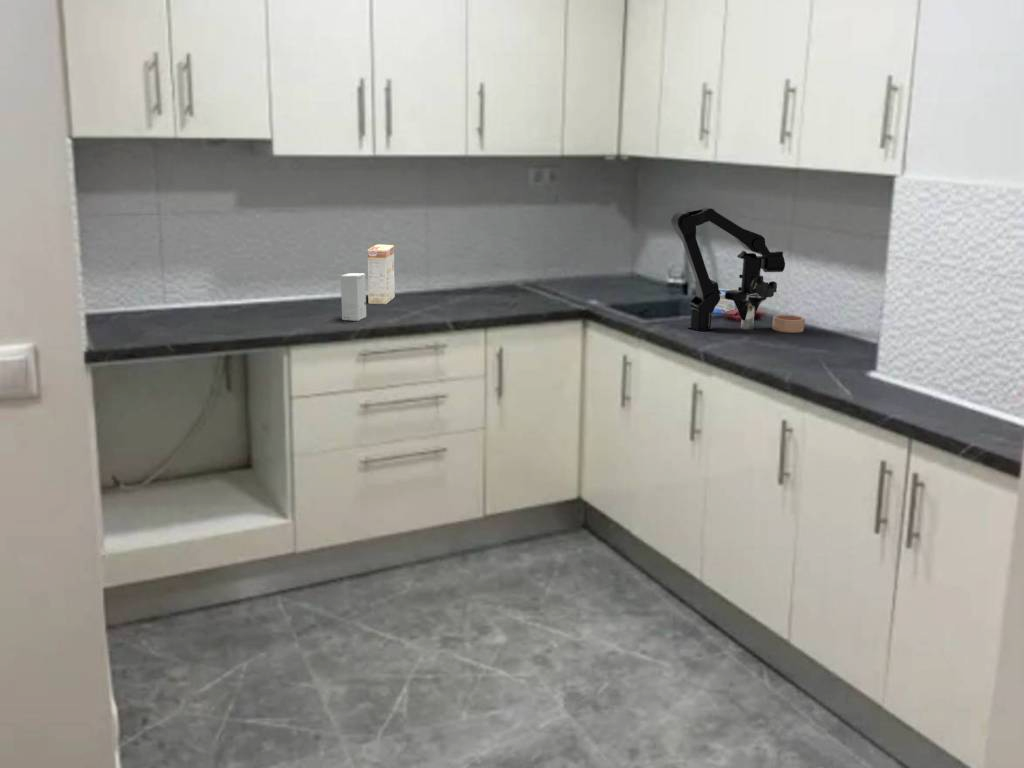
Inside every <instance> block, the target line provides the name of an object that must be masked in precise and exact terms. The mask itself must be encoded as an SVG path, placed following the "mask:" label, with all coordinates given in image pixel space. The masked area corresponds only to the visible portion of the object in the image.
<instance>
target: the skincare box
mask: <svg viewBox="0 0 1024 768" xmlns="http://www.w3.org/2000/svg"><path fill="white" fill-rule="evenodd" d="M366 291H367V290H366V273H362V272H361V273H360V272H359V273H357V272H355V273H353V272H349V273H345V274H342V275H341V276H340V292H341V293H340V294H341V295H340V296H341V298H340V299H341V320H343V321H353V322H354V321H355V322H358V321H359V322H360V320H362V319H365V318H367V295H366V294H367V293H366Z"/></svg>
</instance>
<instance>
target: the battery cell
mask: <svg viewBox="0 0 1024 768" xmlns="http://www.w3.org/2000/svg"><path fill="white" fill-rule="evenodd" d="M754 311H755V306H754V305H752V303H749V304H748V306H747V313H746V318H745V320H742V319H741V318H740V321H741V322H740V329H742V330H749V331H751V330H754V323H755V321H754V320H755V316H754Z"/></svg>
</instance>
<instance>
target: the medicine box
mask: <svg viewBox="0 0 1024 768" xmlns="http://www.w3.org/2000/svg"><path fill="white" fill-rule="evenodd" d="M718 288H719V287H718ZM728 290H733V289H732V288H723V287H722V288H721V287H720V288H719V291H720V292H721V294H719V295H720V301H719V303H718V304H717V305H716V306H715V308H714V311H713V312H712V313H713V314H718V315H724V314H723V313H725V312H727V311H730V310H735V309H737V307H736V305H735V303H734V301H732V300H729V299H725V293H726V292H727V291H728Z"/></svg>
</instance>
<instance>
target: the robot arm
mask: <svg viewBox="0 0 1024 768" xmlns="http://www.w3.org/2000/svg"><path fill="white" fill-rule="evenodd" d="M670 220H671V225H672V228H673V229H674V231H675V233H676V234H677V236H678V237H679V238H680V240H681V242H682V244H683V247H684V250H685V253H686V256H687V259H688V262H689V265H690V268H691V270H692V274H693V277H694V280H695V296H694V297H693V298H692V299H691V300H690V301H689V303H688V304H689V307H690V309H691V313H690V314H691V316H690V325H688V326H686V329H689V328H691V329H690V330H694V329H696V330H695V331H698V330H700V331H699V332H704V331H709V330H710V331H712V330H714V329H715V328H714V327H712V326H711V325H712V313H713V311H714V308H715V306H716V305H717V304H718V303H719V301H720V295H719V294H721V292H720V291H719V284H718V282H717V281H715V280H713V279H710V276H709V274H708V270H707V267H706V264H705V261H704V259H703V256H702V252H701V249H700V246H699V243H698V241H697V227H698V226H701V225H703V224H705V223H710V224H711V225H713V226H715V227H716V228H718V230H719V229H720V230H721V231H723V232H725V233H726V234H727V235H730V236H731V237H733V238H734V239H735V240H736V241H737V243H738V244H739V245H741V246H742V248H744V249H745V250H742V251H741V252H740V253H739V254H737V258H739V259H742V260H743V261H742V262H743V263H742V272H741V274H739V276H738V278H739V279H741V285H740V286H738V288H737V289H732V290H728V291H727V292H726V293H725V299H729V300H732V301H734V303H735V305H736V307H737V309H738V314H739V316H740V320H741V319H742V320H745V318H746V313H747V306H748V304H749V303H752V305H754V306H755V311H754V317H755V315H756V313H757V311H758V309H759V306H760V304H762V303H763V302H764V301H767V298H773V297H774V296H775V295H774V293H777V289H778V286H777V285H778V284H777V283H778V282H776V281H769V282H766V281H764V276H763V275H761V270H762V271H763V272H764V273H783V272H784V271H785V268H786V262H785V261H786V260H785V256H784V251H780V250H776V251H770V250H769V249H768V247H767V244H766V238H765V237H764V236H763V235H761V234H759V233H757V232H753V231H751V230H748V229H745V228H743V227H741V226H739V225H738V224H736V223H735V222H733V221H731V220H730V219H728V218H727V217H725V216H724V215H722V214H720V213H718V211H716V210H715V209H713V208H710V207H703V208H701V209H697V210H692V211H685V212H684V211H677V212H675V213H674V214H673V215H672V218H671V219H670ZM746 250H747V251H750V252H749V253H748V252H747V251H746ZM757 254H758V255H757Z"/></svg>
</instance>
